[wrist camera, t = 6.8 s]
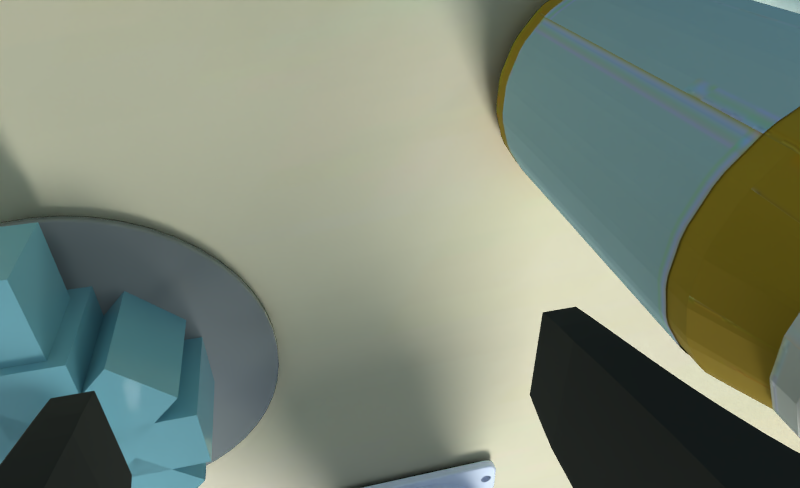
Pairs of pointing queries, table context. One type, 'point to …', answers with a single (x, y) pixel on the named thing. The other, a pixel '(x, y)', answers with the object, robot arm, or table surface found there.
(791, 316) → the bottle
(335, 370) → the table surface
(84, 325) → the blue block ring base
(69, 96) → the table surface
